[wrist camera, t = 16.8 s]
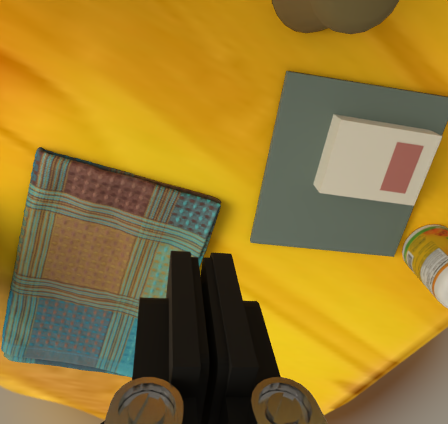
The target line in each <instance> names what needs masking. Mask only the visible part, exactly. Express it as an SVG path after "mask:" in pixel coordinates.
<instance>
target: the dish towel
mask: <svg viewBox="0 0 448 424" xmlns="http://www.w3.org/2000/svg"><path fill="white" fill-rule="evenodd" d="M220 203H221V201H220V200H219V199H217V198H215V197H212V196H209V195H205V194H202V193H198V192H195V191H191V190H188V189H184V188H180V187H177V186H172V185H169V184H165V183H161V182H158V181H155V180H151V179H148V178H145V177H141V176H138V175H134V174H131V173H128V172H125V171H121V170H117V169H114V168H110V167H106V166H103V165H99V164H96V163H92V162H89V161H85V160H81V159H78V158H73V157H69V156H66V155H62V154H57V153H54V152H52V151H47V150H45V149H43V148H42V147H39V148H38V149H37V151H36V154H35V160H34V163H33V170H32V173H31V181H30V185H29V191H28V196H27V200H26V207H25V210H24V218H23V224H22V228H21V235H20V237H19V244H18V250H17V259H16V262H15V268H14V273H13V278H12V283H11V289H10V293H9V298H8V303H7V312H6V316H5V322H4V327H3V340H2V348H1V349H2V351H3V352H4V357H6V358H7V359H8V360H11V361H15V362H23V363H36V364H44V365H53V366H61V367H67V368H73V369H79V370H86V371H97V372H104V373H110V374H116V375H121V376H128V377H132V375H133V364H134V354H135V343H136V332H137V321H138V310H139V300H140V297H143V298H166V293H167V282H168V272H169V262H170V253H171V251H188V252H191V257H198V261H199V267H200V264H201V262H202V259H203V256H204V254H205V252H206V249H207V246H208V243H209V240H210V237H211V234H212V231H213V228H214V225H215V222H216V219H217V216H218V213H219V210H220V207H221V205H220Z"/></svg>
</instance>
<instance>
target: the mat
mask: <svg viewBox="0 0 448 424" xmlns="http://www.w3.org/2000/svg"><path fill="white" fill-rule="evenodd" d="M333 114H336V115H342V116H348V117H354V118H360V119H366V120H372V121H378V122H385V123H391V124H397V125H403V126H409V127H415V128H421V129H427V130H431V131H433V132H435V133H437V134H439V135H441V136H442V134H443V131H444V129H445V126H446V124H447V121H448V97H445V96H439V95H433V94H427V93H420V92H414V91H408V90H402V89H396V88H390V87H383V86H377V85H371V84H365V83H359V82H353V81H346V80H340V79H334V78H328V77H322V76H316V75H309V74H303V73H297V72H291V71H286V75H285V80H284V85H283V89H282V94H281V99H280V103H279V108H278V112H277V117H276V122H275V126H274V131H273V136H272V140H271V145H270V150H269V154H268V159H267V163H266V168H265V173H264V177H263V182H262V187H261V191H260V196H259V201H258V205H257V210H256V214H255V219H254V224H253V228H252V233H251V238H250V241H251V243H259V244H269V245H280V246H290V247H300V248H310V249H321V250H331V251H341V252H351V253H362V254H372V255H382V256H392V257H394V255H395V253H396V250H397V247H398V245H399V242H400V240H401V237H402V235H403V232H404V230H405V227H406V225H407V222H408V220H409V217H410V215H411V212H412V210H413V207H414V206H412V205H404V204H397V203H390V202H382V201H375V200H367V199H360V198H353V197H345V196H338V195H331V194H323V193H319V192H318V190H317V189H316V187H315V186H314V185H313V184H314V180H315V177H316V173H317V170H318V166H319V163H320V159H321V156H322V152H323V149H324V145H325V142H326V138H327V135H328V131H329V128H330V125H331V121H332V118H333Z"/></svg>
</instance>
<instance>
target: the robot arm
mask: <svg viewBox="0 0 448 424" xmlns="http://www.w3.org/2000/svg"><path fill="white" fill-rule="evenodd" d="M101 424H328V423H327V421H326V419H325V417H324V415H323V413H322V412H321V410H320V408H319V406H318V404H317V402H316V400H315V399H314V397H313V396H312V395H311V393H310V392H309V391H308V390H307V389H306V388H305V387H303V386H302V385H301V384H299V383H297V382H295V381H293V380H291V379H287V378H283V377H280V373H279V370H278V367H277V363H276V360H275V356H274V353H273V349H272V346H271V343H270V339H269V336H268V332H267V329H266V325H265V322H264V319H263V315H262V312H261V308H260V305H259V303H258V302H257V301H243V300H242V296H241V292H240V287H239V283H238V279H237V275H236V271H235V267H234V263H233V258H232V255H231V254H226V253H211V255H210V258H203V262H202V269H201V276H200V269H199V261H198V257H191V252H188V251H171V253H170V262H169V272H168V282H167V293H166V298H143V297H140V300H139V310H138V321H137V332H136V343H135V354H134V364H133V375H132V381H130V382H128V383H126V384H125V385H123V386H122V387H121V388H120V389H119V390H118V391H117V392H116V393H115V395H114V397H113V399H112V401H111V403H110V407H109V410H108V413H107V416H106V419H105V421H104V422H102V423H101Z"/></svg>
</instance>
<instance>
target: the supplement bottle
mask: <svg viewBox="0 0 448 424" xmlns="http://www.w3.org/2000/svg"><path fill="white" fill-rule="evenodd" d="M402 255H403V259H404V261H405V263H406V264H407V265H408V267H409V268H410V269H411V270H412V271H413V272H414V273H415V275H416V276H417V277H418V278H419V279H420V280H421V281H422V283H423V284H424V285H425V286H426V287H427V288H428V289H429V291H430V292H431V293H432V294H433V295H434V296H435V298H436V299H437V300H438V301H439V302H440V303H441V304H442V305H443V306H445V307H447V308H448V229H447V228H446V227H444V226H441V225H426V226H423V227H421V228H419V229H417V230H415V231H414V232H413V233H412V234H411V235H410V236H409V237H408V238H407V240H406V241H405V243H404V246H403V251H402Z"/></svg>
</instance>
